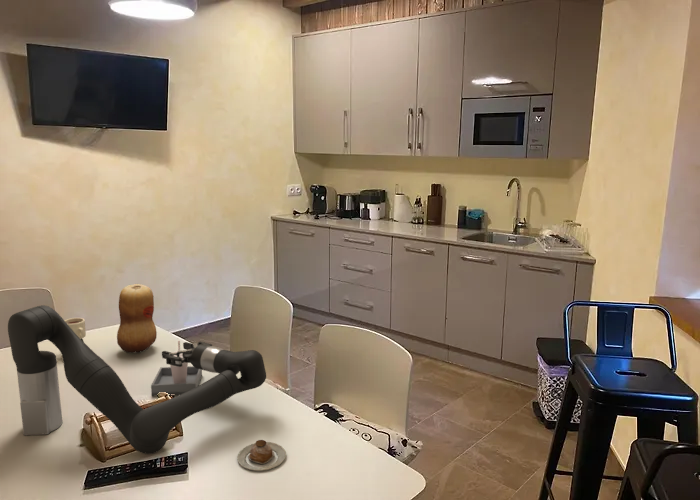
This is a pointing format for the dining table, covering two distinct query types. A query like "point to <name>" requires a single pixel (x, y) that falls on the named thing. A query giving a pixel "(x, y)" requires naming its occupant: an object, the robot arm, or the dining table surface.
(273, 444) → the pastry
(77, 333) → the character mug
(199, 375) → the bin
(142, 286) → the butternut squash
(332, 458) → the dining table surface
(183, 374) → the smoothie
